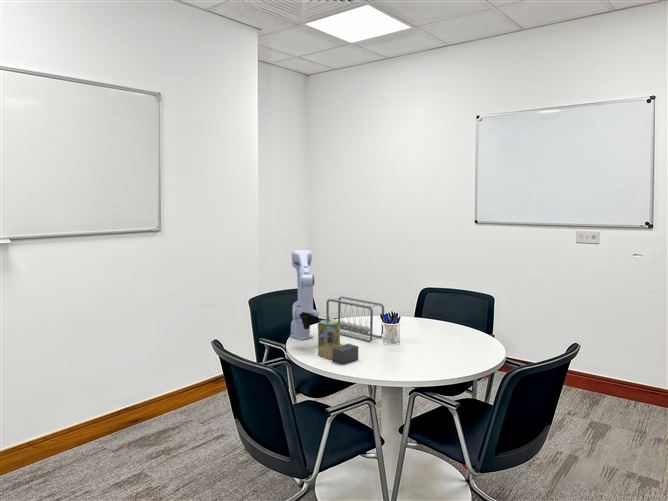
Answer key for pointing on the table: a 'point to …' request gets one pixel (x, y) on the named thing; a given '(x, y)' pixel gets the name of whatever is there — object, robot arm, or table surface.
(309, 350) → the table surface
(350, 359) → the dark grey rectangular block
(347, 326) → the newton's cradle
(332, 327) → the green multicoloured upright block
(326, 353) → the brown open box
